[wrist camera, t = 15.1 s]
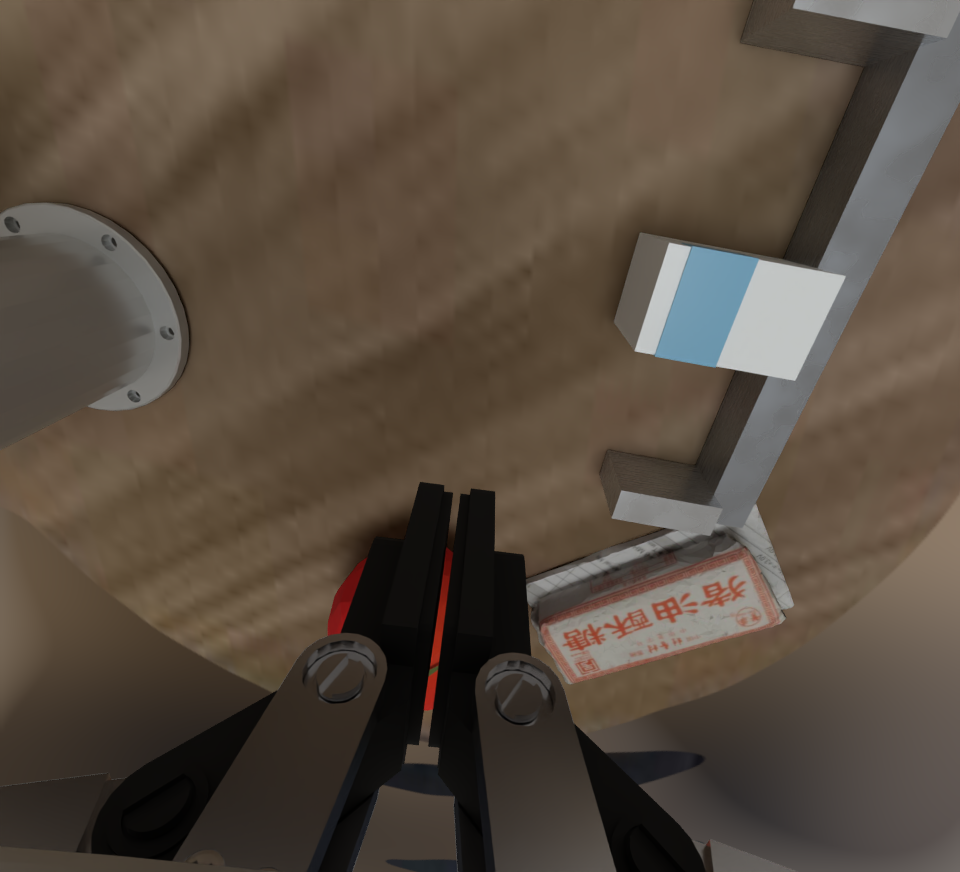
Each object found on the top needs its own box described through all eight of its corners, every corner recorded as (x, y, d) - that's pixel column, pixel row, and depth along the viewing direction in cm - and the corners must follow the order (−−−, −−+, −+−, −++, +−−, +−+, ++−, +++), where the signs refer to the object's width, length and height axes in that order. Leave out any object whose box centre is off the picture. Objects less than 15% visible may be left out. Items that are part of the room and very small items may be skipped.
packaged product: (574, 709, 38) (516, 624, 35) (568, 656, 43) (516, 576, 39) (820, 642, 34) (783, 535, 30) (786, 590, 38) (749, 491, 34)
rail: (599, 474, 34) (611, 518, 30) (757, -12, 22) (817, -63, 18) (721, 497, 34) (752, 543, 30) (943, 24, 22) (1049, -17, 18)
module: (613, 322, 30) (634, 352, 24) (639, 231, 27) (670, 241, 22) (744, 346, 30) (795, 382, 24) (782, 258, 27) (848, 275, 22)
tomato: (339, 613, 42) (289, 732, 33) (368, 493, 36) (318, 597, 27) (466, 648, 43) (452, 773, 33) (514, 536, 37) (513, 651, 28)
